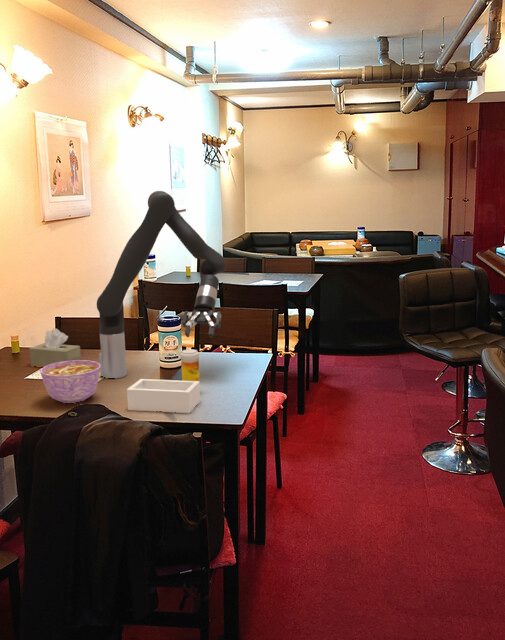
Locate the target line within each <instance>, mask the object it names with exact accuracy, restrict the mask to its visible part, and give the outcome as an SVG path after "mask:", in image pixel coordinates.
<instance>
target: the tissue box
mask: <svg viewBox="0 0 505 640" xmlns="http://www.w3.org/2000/svg"><path fill="white" fill-rule="evenodd" d="M44 338H45V339H44V343H40V344H39V345H35V346H32V347H29V360H30V365H31V364H32V365H41V366H47V365H50V364H53V363H58V362H63V361H72V360H82V356H81V355H82V354H81V346H80V345H76V344H75V345H74V344H73V345H72V344H64V343H65V342H67V340H68V339H69V335H66V334H65V333H64V332H61V331H60V330H59V329H58V328H52V330H46V332H45V337H44Z"/></svg>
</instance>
